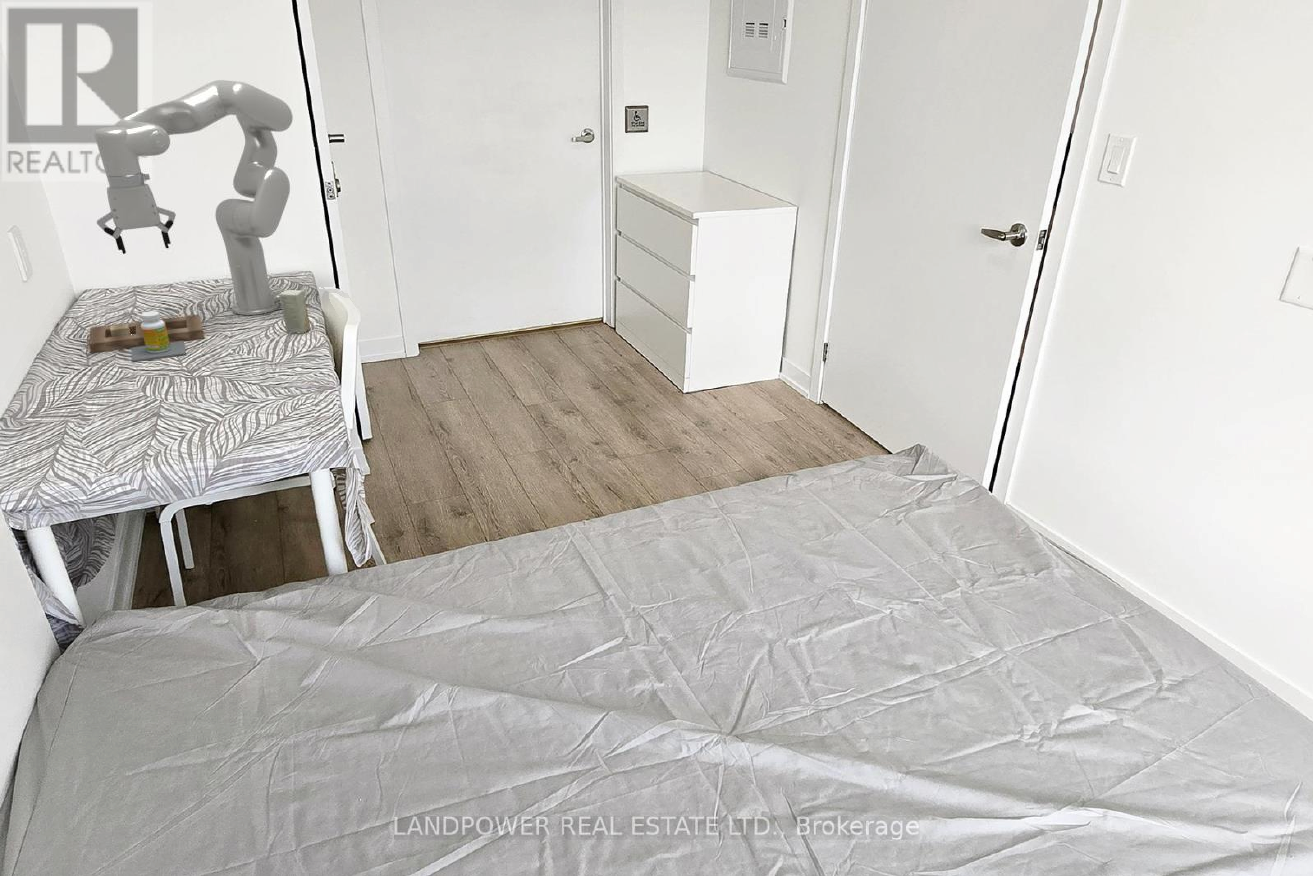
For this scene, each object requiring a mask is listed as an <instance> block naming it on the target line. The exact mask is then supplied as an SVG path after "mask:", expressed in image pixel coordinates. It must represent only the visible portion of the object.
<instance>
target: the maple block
mask: <svg viewBox="0 0 1313 876" xmlns="http://www.w3.org/2000/svg"><path fill="white" fill-rule="evenodd" d="M119 324H120V325H115V324H110V325H111V327H110V331H111V334H112V337H116V336H124V335H131V333H130V329H129V325H128V324H124V323H119Z"/></svg>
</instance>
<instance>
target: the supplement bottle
mask: <svg viewBox="0 0 1313 876" xmlns="http://www.w3.org/2000/svg"><path fill="white" fill-rule="evenodd" d="M140 315H141V316H140V317H141V321H144V322H142V323H141V329H142V333H143V337H144V341H145V345H146V349H147V351H148V352H149V353H162V352H166V351H168V350H169V349H170V348H171V347H170V342H169V338H168V334H167V330H166V326H165V322H164V321H163V320H160V319H161V315H160V312H159V311H156V310H155V311H154V310H153V311H146V312H145V311H144V312H143V313H141V314H140Z"/></svg>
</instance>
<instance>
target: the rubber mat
mask: <svg viewBox="0 0 1313 876" xmlns="http://www.w3.org/2000/svg"><path fill="white" fill-rule="evenodd" d="M170 347H171V348H170V349H169V350H168V351H166V352H162V353H149V352H148V351H147V349H146V346H139V347H132V348H131V362H132V363H138V362H143V361H144V362H145V361H150V360H151V361H152V360H159V359H167V358H173V357H179V356H180V357H181V356H187V352H186V351H187V350H186V345H185V341H178V342H170Z"/></svg>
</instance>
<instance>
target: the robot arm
mask: <svg viewBox="0 0 1313 876" xmlns="http://www.w3.org/2000/svg"><path fill="white" fill-rule="evenodd" d="M231 115H232V116H236V120H237V121H238V124H239V125H240V127H241V129H242V132H243V136H244V147H243V151H242V153H241V157H240V160H239V162H238V164H237V167H236V171H235V173H234V176H233V183H232V185H233V189H234V190H235V192H237V194H238V195H240V196H242V197H246V198H249V199H253V200H247V199H241V198H240V199H239V198H227V199H225V200H222V201H221V202H219V204H218V205H217V206H216V209H215V221H216V224H217V227H218V229H219V231H220V234H221V236H222V240H223V243H224V246H225V251H226V255H227V261H228V267H229V271H230V275H231V281H232V286H233V290H234V291H233V292H234V295H235V296H234V297H235V301H236V302H235V303H234V304H233V305H232V306H231V311H232V312H233V313H234V314H237V315H243V316H255V315H263V313H264V314H268V313H272V312H273V311H276V310H277V309H278V308H279V307H280V304H279V301H280V296H279V294H281V293H282V292H278V293H274V292H272V290H271V286H270V282H269V281H270V280H269V277H268V276H269V275H268V270H267V266H266V265H267V264H266V259H265V252H264V247H263V245H262V242H261V240H260V238H261V239H265V238H269V237H270V236H272V235H273V234H274V233H275V232H276V230H277V229H278V227H279V224H280V222H281V220H282V216H283V213H284V211H285V208H286V206H287V202H288V199H289V197H290V193H291V192H290V190H291V184H290V180H289V177H288V175H287V174H286V172H285V171H284V170H283V169H281V168H280V167H277V166H275V165H276V162H277V157H278V147H277V142H276V139H275V137H274V135H273V133H272V132H277V133H279V132H280V133H281V132H284V131H287V130H288V129H289V128H290V127H291V125H292V124H293V113H292V110H291V108H290V107H289V105H288V104H287V102H285V101H284V100H282V99H280V98H279V97H276V96H274V95H273V94H270V93H268V92H266V91H264V90H262V89H259V88H258V87H255V86H253V85H251V84H250V83H246V82H244V81H243V82H242V81H235V80H225V79H221V80H220V79H219V80H213V81H211V82H209V83H206V84H204V85H202V86H201V87H198V88H196V89H194V90H193V91H190V92H189V93H187V94H185V95H183V96H181V97H179V98H176V99H174V100H173V99H172V100H169V101H166V102H162V103H160V104H157V105H153V106H150V107H146V108H144V109H140V110H138V111H136V112H133V113H131V114H129V115H127V116H125V117H124V118H121V119H120V120H118V121H117V122H115V124H114V125H113V126H108V127H107V126H106V127H101V128H98V129H96V130H95V133H94V139H95V142H96V145H97V148H98V153H99V155H100V159H101V162H102V165H103V169H104V172H105V175H106V179H107V183H108V185H109V186H108V187H107V188H106V194H107V201H108V205H109V208H110V209H109V210H110V211H109V212H108V213H106V214H104V215H103V216H101V217H100V218H99V219H97V220H96V224H97V225H98V227H99V228H101V230H102V231H103V232H104V233H106V234H107V235H109V236H111V237H113V239H115V242H116V246H117V247H116V248H117V249H118V251H122V252H121V253H122V254H123V255H125V254H126V253H127V251H126V247H125V244H124V241H123V237H122V236H121V234H122V232H123V231H125V230H134V229H135V230H136V229H143V228H151V227H157V228H158V229H160V230H161V231H160V233H161V236H162V237H161V238H162V240H163V244H164V248H165V249H170V247H169V245H171V243H172V242H171V240H170V236H169V231H170V230H171V228H172V227H173V226H174V222H175V219H176V212H175V211H172V210H169V209H165V208H163V207H159V206H157V205H158V204H157V203H156V199H155V196H154V194H153V191H152V189H151V187H150V185H149V184H148V183H146V182H147V181H148V180H151V177H150V174H149V173H147V174H146V173H143V172H142V169H141V165H140V162H139V159H138V157H149V156H150V157H153V156H154V157H155V156H160V155H163V154H164V153H166V152H167V150H168V149H169V147H170V144H171V138H170V136H171V135H183V134H192V133H195V132H200V131H201V130H203V129H205V128H207V127H208V126H211V125H212V124H214V123H216V122H218V121H219V120H222V119H224V118H226V117H227V116H231ZM161 215H163V216H167V217H168V219H167V220H166V222H165V223H163V222H162V221H161ZM111 220H113V223H114V226H115V228H114V229H112V228H111V227H109V226H108V225H107V224H106V223H108V222H109V221H111ZM280 302H281V301H280ZM267 312H268V313H267Z"/></svg>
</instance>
